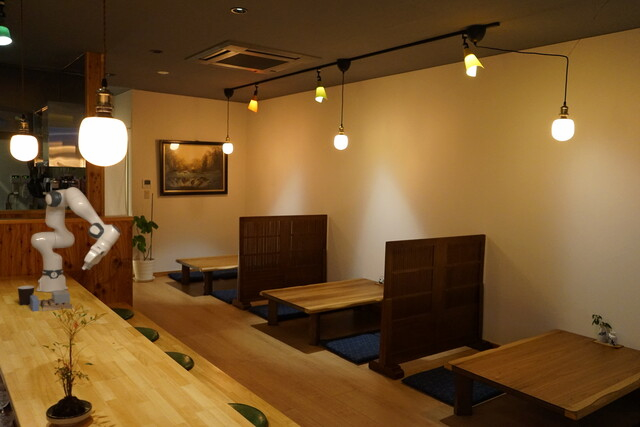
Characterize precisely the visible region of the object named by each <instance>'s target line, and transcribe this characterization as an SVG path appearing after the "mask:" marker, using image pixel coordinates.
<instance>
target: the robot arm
mask: <svg viewBox="0 0 640 427" xmlns="http://www.w3.org/2000/svg"><path fill="white" fill-rule="evenodd" d="M44 200H45V201H44V202H45V203H46V208H45V218H44V220H45V224H46V226H47V227H49V228H52V229H54V231H41V232H37V233H34V234H32V236H31V238H30V243H31V246H32V247H33V248H35V249H36V250H37V251H38V252H39V253H40V254H41V256H42V263H43V265H42V266H43V269H42V272H41V273H42V275H41V277H40V279H38V280H37V281H38V282H37V283H38V285H37V287H36V289H35V290H36V292H45V293H50V292H51V293H52V291H56V290H68V289H69V287H68V286H67V285H66V276H65V275H64V274H63V273H64V268H63V257H62V256H61V254H59V253H57V252H54V251H53V249H61V248H62V249H65V248H70V247H72V246H73V245H74V243H75V235H74V234H73V233H72V232H71V231H69V229H67V227H66V225H65V224H66V223H65V222H66V220H65V217H66V216H65V215H66V207H69V209H70V210H71V211H72V212H74V214H75V215H77V216H79V217H81V218H82V219H84V220H86V221H87V222H88V223H89V224H90V226H89V227H88V229H87V234H88V236H89V237H91V238H92V239H94V240H96V241H95V243H94V244H93V245H92V246H91V247H90V250H89V251H88V252H87V254H86V255H85V258H84V260H83V261H84V264H83V266H82V267H81V269H82V270H83V271H85V270H89V271H90V270H91V268H93V267H94V266H95V265H97V264H99V263H100V261H101V259H102V258H103V257H105V256H106V255H107V254H108V252H110V251H111V248H112V246H113V245H114V244H115V243H116V242H117V240H118V239H119V237H120V235H121V230H120V229H119V228H118V227H117V226H116V225H114V224H105V222H104V221H103V220H102V218H101V217H100V216H99V215H98V214H97V212H96V210H95V208H94V207H93V206H92V204H91V202H89V200H88V198H87V197H86V195H85V194H84V193H83V192H82V191H81V190H80V189H79V188H77V187H73V186H72V187H68V188H67V189H64V188H62V189H58V190H49V191H48V192H46V194H45V199H44Z"/></svg>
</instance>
